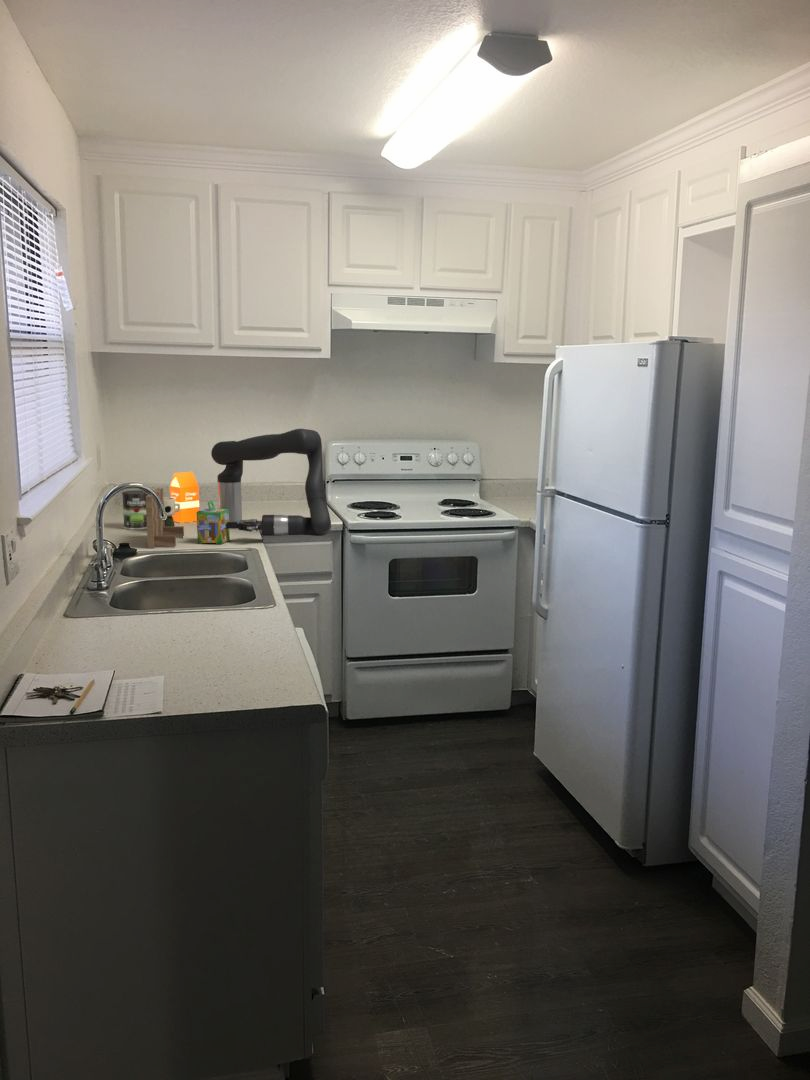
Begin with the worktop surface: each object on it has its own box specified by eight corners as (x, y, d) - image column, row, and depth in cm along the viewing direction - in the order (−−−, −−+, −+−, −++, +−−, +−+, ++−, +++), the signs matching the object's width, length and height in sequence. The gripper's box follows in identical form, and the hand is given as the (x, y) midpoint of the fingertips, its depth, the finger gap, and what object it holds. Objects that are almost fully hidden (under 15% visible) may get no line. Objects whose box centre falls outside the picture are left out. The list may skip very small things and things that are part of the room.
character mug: (149, 534, 325) (148, 499, 322) (154, 530, 332) (153, 497, 329) (178, 534, 325) (177, 500, 323) (183, 531, 332) (182, 497, 330)
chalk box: (221, 544, 306) (220, 503, 303) (196, 543, 307) (195, 502, 304) (230, 540, 315) (229, 499, 312) (206, 539, 316) (205, 498, 313)
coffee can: (151, 529, 334) (149, 493, 332) (123, 530, 332) (121, 493, 329) (151, 525, 344) (150, 489, 342) (124, 526, 342) (122, 490, 339)
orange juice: (170, 521, 354) (168, 472, 350) (189, 518, 360) (187, 471, 356) (181, 523, 348) (179, 474, 345) (200, 521, 355) (198, 472, 351)
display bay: (159, 536, 320) (157, 488, 316) (184, 536, 320) (182, 488, 317) (147, 548, 298) (145, 496, 295) (174, 548, 299) (172, 496, 296)
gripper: (276, 512, 318) (228, 512, 316) (274, 517, 305) (224, 517, 303) (276, 532, 319) (228, 532, 317) (274, 538, 306) (225, 538, 304)
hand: (226, 525), depth 310 cm, fingers closed
